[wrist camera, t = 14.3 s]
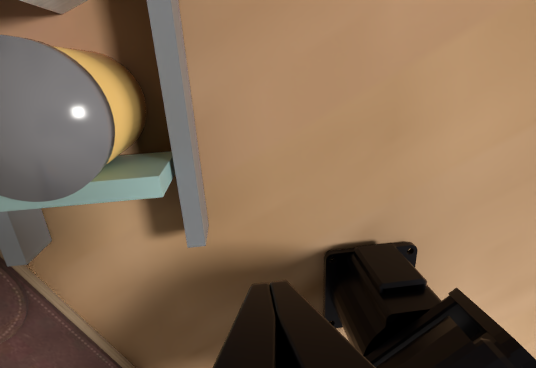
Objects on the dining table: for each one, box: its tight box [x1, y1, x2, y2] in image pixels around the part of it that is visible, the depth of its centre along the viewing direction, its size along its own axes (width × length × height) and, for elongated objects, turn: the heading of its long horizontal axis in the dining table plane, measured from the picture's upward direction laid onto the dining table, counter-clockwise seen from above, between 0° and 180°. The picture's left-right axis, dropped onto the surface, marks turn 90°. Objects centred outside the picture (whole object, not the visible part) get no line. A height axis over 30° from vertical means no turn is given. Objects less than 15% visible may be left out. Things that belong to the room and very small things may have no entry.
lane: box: [0, 0, 209, 267], centre depth 12 cm, size 21×10×8 cm, turn 3°
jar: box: [0, 35, 146, 202], centre depth 14 cm, size 6×6×6 cm
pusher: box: [0, 151, 175, 212], centre depth 16 cm, size 1×8×4 cm, turn 94°
